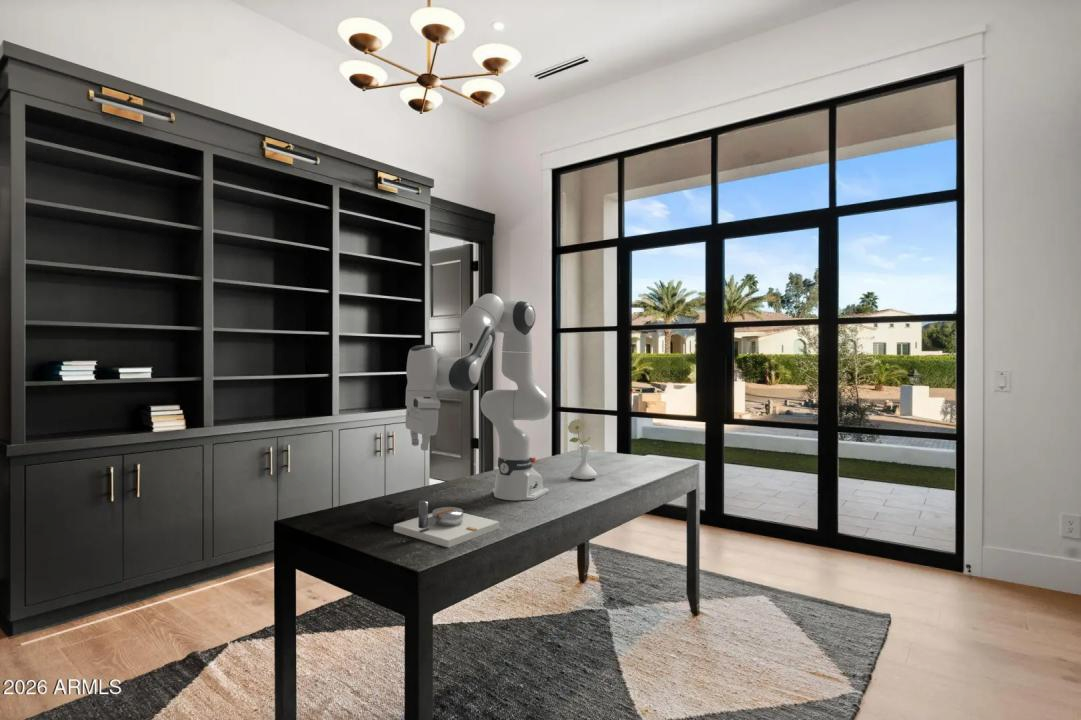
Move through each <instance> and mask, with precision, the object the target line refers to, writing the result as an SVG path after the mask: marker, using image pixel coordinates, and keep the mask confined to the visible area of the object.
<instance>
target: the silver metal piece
mask: <svg viewBox="0 0 1081 720" xmlns="http://www.w3.org/2000/svg"><path fill="white" fill-rule="evenodd" d="M431 513H432V517H429V518H428V514H429V501H428V500H419V501H418V517H419V519H418V527H419V528H427V527H428V526H431V525H434V524H436V525H441V526H452V525H458V524H460V523H462V522H463V513H464V510H463V509H462V508H459V507H455V506H443V507H437V508H434V509H432V512H431Z"/></svg>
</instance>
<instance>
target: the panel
mask: <svg viewBox="0 0 1081 720" xmlns="http://www.w3.org/2000/svg"><path fill="white" fill-rule="evenodd" d="M429 517H432V512H431V513H428V518H429ZM418 519H419V516H417V517H414V518H411V519H408V520H404V521H401V523H398V524H394V528H393V532H395V533H397V534H401V535H405V536H409V537H411V538H415V539H417V540H418V539H419V540H421V541H425V542H429V543H431V544H435V545H439V546H442V547H444V548H448V549H449V548H452V547H454V546H458V544H459V545H460V544H463V543H465V542H467V541H469V540H473V539H475V538H478V537H481V536H483V535H485V534H488V533H491V532H493V531H495V530H499V529H500V521H498V520H494V519H490V518H486V517H481V516H477V515H473V514H469V513H467V512H466V513H465V512H463V522H462V523H460V524H458V525H452V526H441V525H436V524H434V525H431V526H428V527H427V528H419V527H418Z"/></svg>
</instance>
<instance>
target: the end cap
mask: <svg viewBox="0 0 1081 720" xmlns="http://www.w3.org/2000/svg"><path fill="white" fill-rule="evenodd" d="M405 511H406V506H405V505H404V504H402V503H394V504H393V501H392V500H389V499H387V500H383V501H379V500H375V499H374V500H373V501H371V502H370V503H369V504H368V505H367V507H366V516H367V518H368V519H369V520H371V522H374V523H376V524H378V525H382V526H385V527H388V528H390V529H394V524H398V523H401V522H404V521H406V520H405V519H406V515H405V514H402V515H400V516H398V514H399V513H403V512H405Z"/></svg>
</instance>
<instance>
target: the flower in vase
mask: <svg viewBox="0 0 1081 720" xmlns="http://www.w3.org/2000/svg"><path fill="white" fill-rule="evenodd" d="M586 429H587V426H586V422H585V421H584V420H582V419H579V418H577V419H573V420H571V421H570V422H569V423H568V425H567V430H568V433H571V434H573V435H577V436H578V437H575V436H574V437H572V438H570V439H569V442H571V443H577V442H580V443H581V444H579V445H578V448H579V450H580V453H581V459H580V463H579V464H578V465H577V466H576V467H575V468H573V469H572V470H571V471H570V473H569V474H570V476H571V477H572V478H574V479H579V480H590V479H591V480H593V479H594V478H596V477H597V476H598V474H597V472H596V471H595V469H594V468H593V467H592V466H590V465H589V464H588V461H587V460H588V459H587V458H588V451H589V449H590V448H591V445H589V444H585V443H587V442H589V441H590V439H591V436H590V437H588V438H584V439H583V440H581V438H580V434H581V433H583V432H584V431H585V430H586Z"/></svg>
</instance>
